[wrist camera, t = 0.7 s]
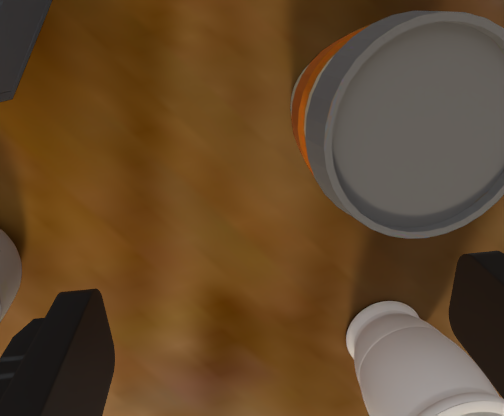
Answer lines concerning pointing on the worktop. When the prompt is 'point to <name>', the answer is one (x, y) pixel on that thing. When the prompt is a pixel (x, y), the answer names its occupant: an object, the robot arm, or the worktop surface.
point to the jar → (415, 367)
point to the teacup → (8, 272)
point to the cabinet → (18, 39)
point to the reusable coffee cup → (407, 121)
